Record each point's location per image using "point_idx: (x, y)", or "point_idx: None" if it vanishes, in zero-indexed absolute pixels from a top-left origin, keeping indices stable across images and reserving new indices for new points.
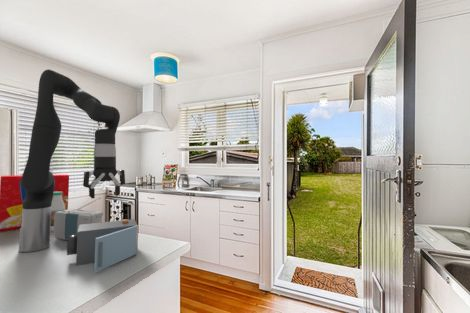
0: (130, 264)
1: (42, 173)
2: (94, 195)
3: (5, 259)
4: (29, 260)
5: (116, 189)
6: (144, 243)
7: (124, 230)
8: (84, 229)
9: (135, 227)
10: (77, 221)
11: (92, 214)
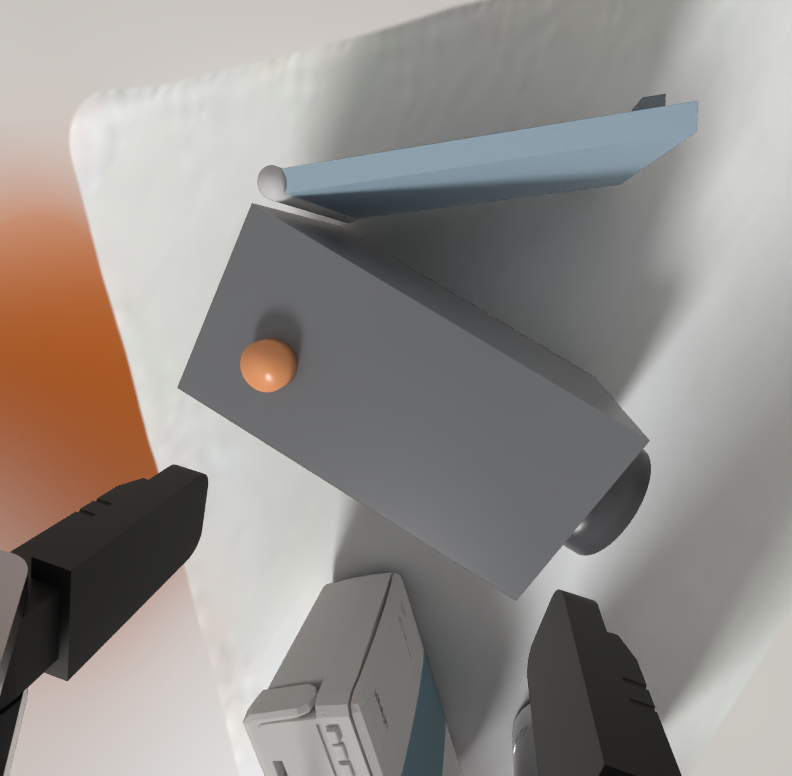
0: (435, 133)
1: None
2: (570, 620)
3: (717, 722)
4: (670, 623)
5: (127, 544)
6: None
7: (407, 149)
8: (578, 453)
9: (293, 168)
10: (407, 749)
11: (332, 720)
